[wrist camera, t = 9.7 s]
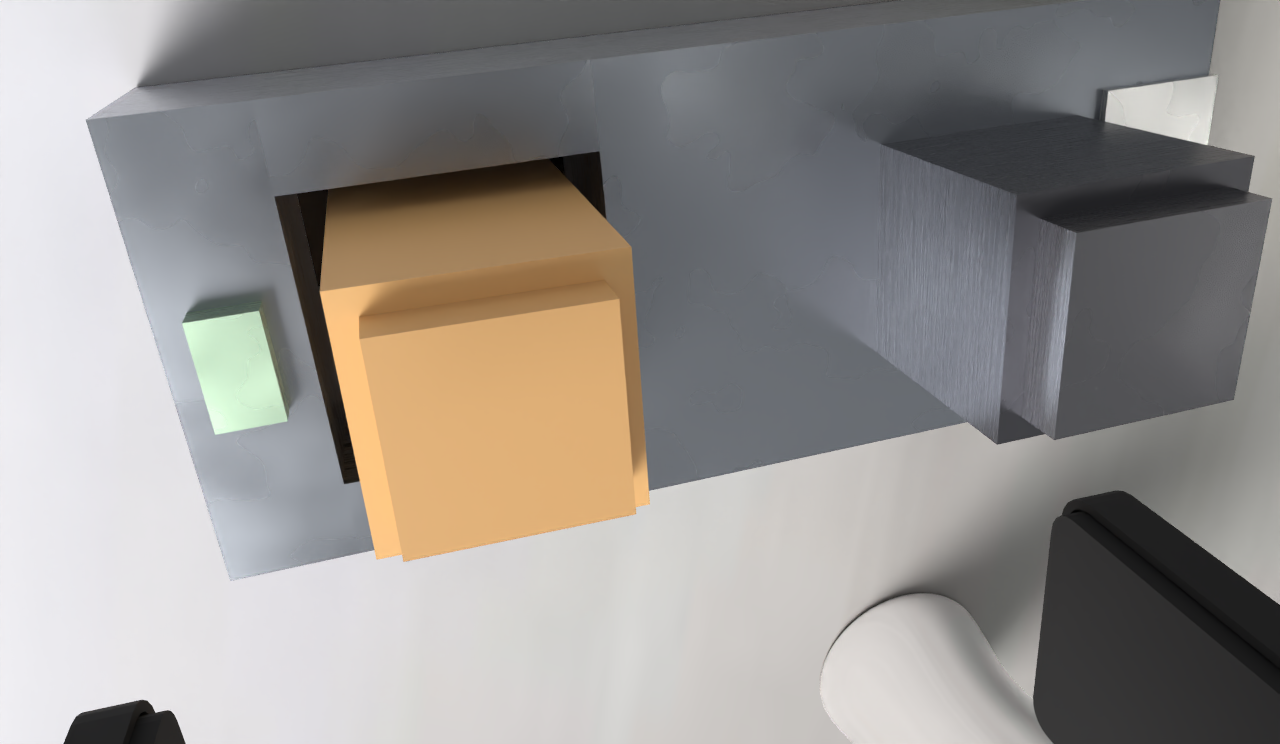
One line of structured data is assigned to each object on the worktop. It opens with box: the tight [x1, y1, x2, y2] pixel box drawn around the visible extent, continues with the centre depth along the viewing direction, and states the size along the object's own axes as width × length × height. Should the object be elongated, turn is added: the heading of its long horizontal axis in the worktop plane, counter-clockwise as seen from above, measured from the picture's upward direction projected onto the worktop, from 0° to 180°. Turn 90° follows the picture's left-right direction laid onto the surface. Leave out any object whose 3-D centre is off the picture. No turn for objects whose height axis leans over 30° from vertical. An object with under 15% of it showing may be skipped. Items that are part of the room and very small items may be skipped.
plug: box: [320, 158, 650, 562], centre depth 20 cm, size 5×5×10 cm
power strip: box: [86, 0, 1272, 581], centre depth 21 cm, size 24×10×10 cm, turn 95°
